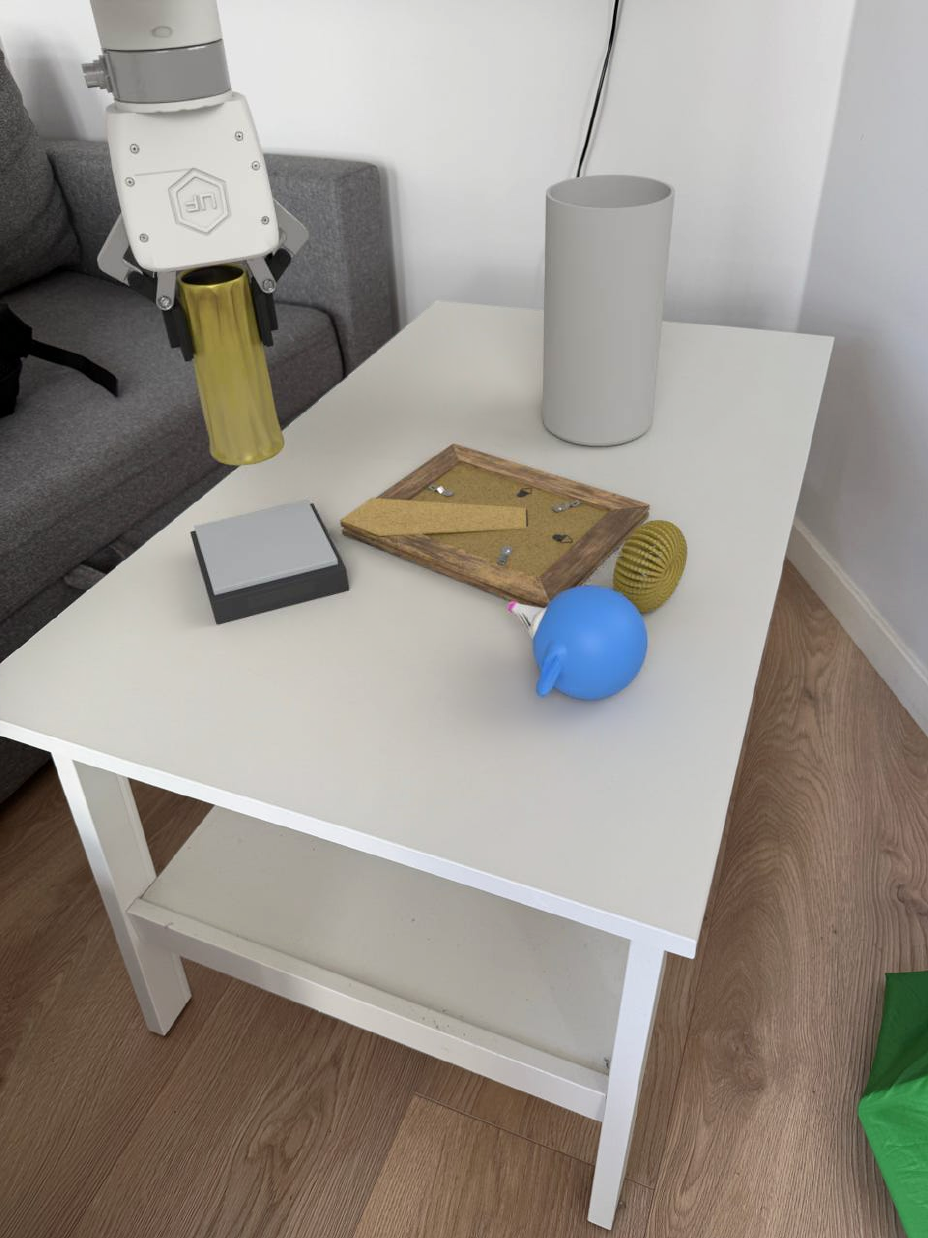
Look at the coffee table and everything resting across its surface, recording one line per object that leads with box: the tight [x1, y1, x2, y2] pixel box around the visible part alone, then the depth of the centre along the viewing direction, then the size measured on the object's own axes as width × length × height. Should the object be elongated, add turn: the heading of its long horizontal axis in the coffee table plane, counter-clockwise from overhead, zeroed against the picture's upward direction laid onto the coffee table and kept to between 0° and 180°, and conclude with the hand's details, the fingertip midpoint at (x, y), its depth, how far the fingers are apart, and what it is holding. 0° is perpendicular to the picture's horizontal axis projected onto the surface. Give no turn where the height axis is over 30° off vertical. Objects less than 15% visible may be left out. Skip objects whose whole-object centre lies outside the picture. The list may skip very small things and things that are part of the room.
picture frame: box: [340, 443, 651, 608], centre depth 89 cm, size 19×2×24 cm
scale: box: [189, 499, 350, 625], centre depth 84 cm, size 12×12×3 cm
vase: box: [176, 262, 286, 466], centre depth 71 cm, size 6×6×14 cm
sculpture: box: [612, 519, 688, 614], centre depth 77 cm, size 8×4×8 cm, turn 140°
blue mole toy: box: [507, 584, 649, 701], centre depth 70 cm, size 12×12×8 cm
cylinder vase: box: [542, 174, 676, 447], centre depth 98 cm, size 12×12×25 cm
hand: (226, 345), depth 70 cm, fingers closed on vase, 5 cm apart
